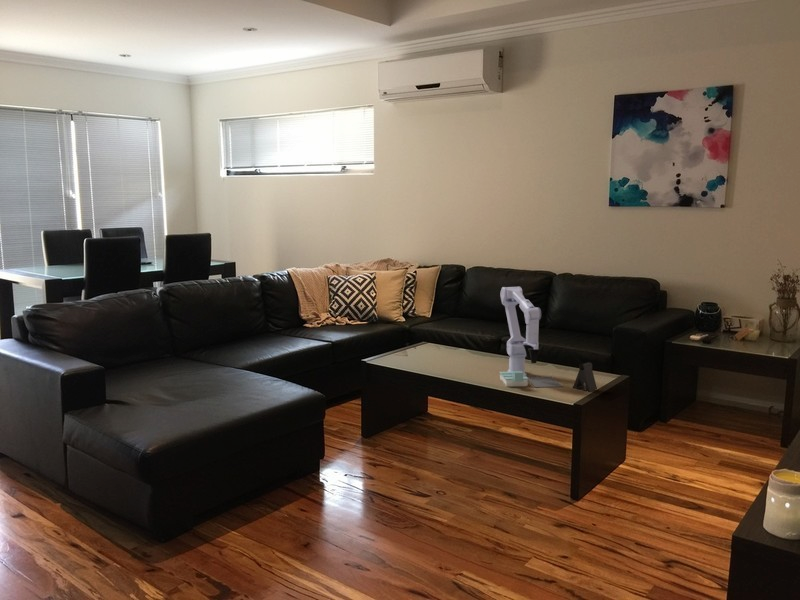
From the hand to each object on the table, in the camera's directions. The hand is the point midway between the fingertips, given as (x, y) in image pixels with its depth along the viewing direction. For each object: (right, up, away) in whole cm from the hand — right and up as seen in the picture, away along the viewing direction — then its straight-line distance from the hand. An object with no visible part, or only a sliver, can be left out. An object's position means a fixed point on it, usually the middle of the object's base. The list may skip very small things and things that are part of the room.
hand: (531, 361), depth 321 cm
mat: (+6, -10, 0) cm, 12 cm away
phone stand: (+22, -12, -12) cm, 28 cm away
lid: (-9, -7, -3) cm, 12 cm away
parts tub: (-9, -10, -1) cm, 13 cm away
